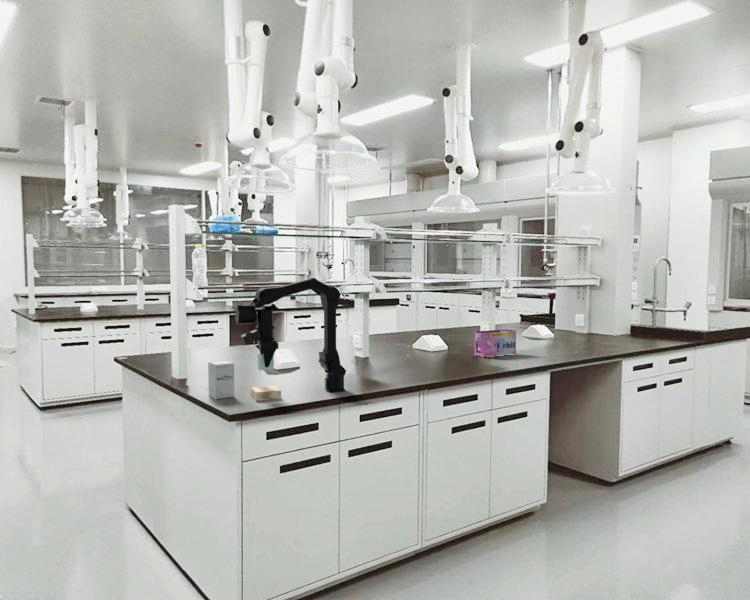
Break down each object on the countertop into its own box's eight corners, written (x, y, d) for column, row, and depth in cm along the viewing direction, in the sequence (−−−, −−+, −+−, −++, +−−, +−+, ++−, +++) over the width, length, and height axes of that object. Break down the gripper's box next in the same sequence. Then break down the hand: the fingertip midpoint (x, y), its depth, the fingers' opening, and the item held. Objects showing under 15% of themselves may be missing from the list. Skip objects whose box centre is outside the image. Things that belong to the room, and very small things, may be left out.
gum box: (481, 358, 290) (481, 332, 289) (472, 356, 297) (472, 331, 296) (516, 355, 301) (516, 330, 300) (506, 353, 308) (506, 329, 307)
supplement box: (215, 399, 197) (214, 364, 197) (208, 396, 203) (207, 362, 203) (235, 397, 202) (234, 362, 201) (227, 393, 208) (227, 360, 207)
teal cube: (271, 367, 204) (271, 353, 204) (273, 369, 199) (273, 355, 199) (257, 367, 202) (257, 354, 202) (259, 370, 197) (259, 356, 197)
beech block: (275, 394, 207) (275, 385, 207) (281, 400, 199) (280, 390, 199) (251, 397, 204) (251, 387, 203) (255, 402, 195) (255, 392, 195)
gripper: (239, 321, 206) (240, 363, 207) (245, 326, 188) (246, 371, 189) (269, 320, 210) (269, 361, 210) (278, 325, 192) (278, 369, 193)
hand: (265, 365), depth 201 cm, fingers closed on teal cube, 5 cm apart
